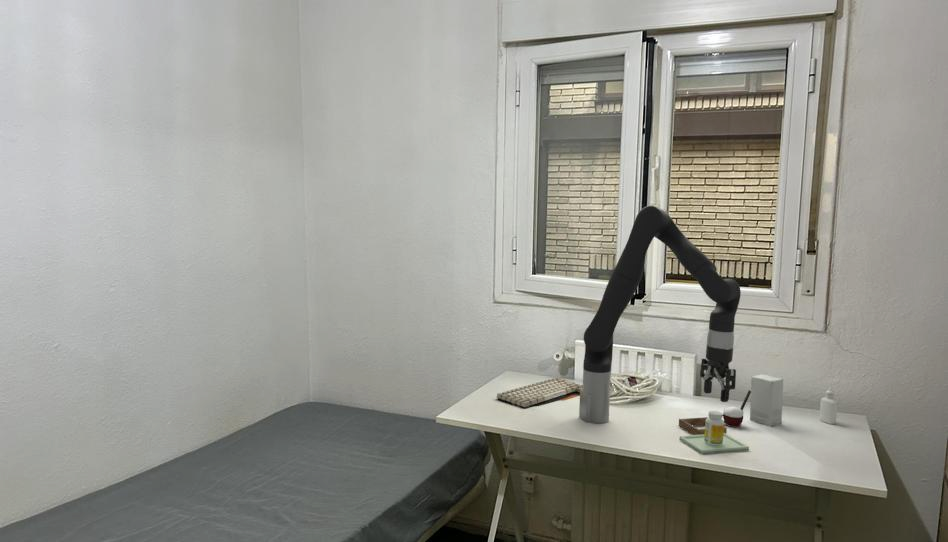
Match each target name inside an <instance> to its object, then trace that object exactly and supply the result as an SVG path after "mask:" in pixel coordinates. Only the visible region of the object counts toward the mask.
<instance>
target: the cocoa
mask: <svg viewBox="0 0 948 542" xmlns="http://www.w3.org/2000/svg"><path fill="white" fill-rule="evenodd" d="M750 396H751V389H750V390H748V391H747V393H746V395H745V396H744V397H745V398H744V399H743V402H742V404H741V406H740V408H739V407H737V406H729V407H728V406H727V407H726V408H723V412H722V414H723V415H722V419H723V421H724V424H725V425H727V426H728V425H729V426H728V427H732V426H737V427H739V426H741V425H742V422H743V420H744V414H745V413H744V408H745V406H746V404H747V402H748V399H749V398H750Z"/></svg>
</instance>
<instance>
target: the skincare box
mask: <svg viewBox="0 0 948 542" xmlns="http://www.w3.org/2000/svg"><path fill="white" fill-rule="evenodd" d="M750 391H751V393H750V403H749V404H750V405H749V408H750V411H749V420H750V421H752V420H753V422H755V423H758V424H759V423H760V424H762V425H766V426H769V427H772V426H777V425H780V424H782V422H783V421H782V420H783V418H782V417H783V393H784V379H783V378H781V377H775V376H772V375H767V374H763V373H762V374H757V375H753V376H751V379H750Z"/></svg>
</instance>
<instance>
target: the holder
mask: <svg viewBox="0 0 948 542" xmlns="http://www.w3.org/2000/svg"><path fill="white" fill-rule="evenodd" d="M708 417H709V416H706V417H705V416H704V417H703V416H701V417H692V418H691V417H690V418H678V427H679V426H680V427H679V428H681V429H682V428H683V429H682V430H684V429H685V430H686V431H685V430H684V431H685V432H687V431H688V432H687V433H689V434H690V433H691V435H692V434H693V435H701V434H705V427H704V428H697V426H692V425H703V426H705V422H706V419H707V418H708ZM727 430H728V428H727V427H726V426H724V432H723V433H726V434H727Z"/></svg>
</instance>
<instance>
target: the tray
mask: <svg viewBox="0 0 948 542" xmlns="http://www.w3.org/2000/svg"><path fill="white" fill-rule="evenodd" d="M678 440H679V441H680V440H681V441H680V442H682V443H683V444H685V443H686V444H685V445H687V446H688V447H690V448H692V449H693V450H694V451H696V452H698V453H699V454H701V455H711V454H721V453H722V454H723V453H724V454H725V453H732V452H733V453H734V452H745V451H746V452H747V451H749V450H750V446H749V445H747V444H745V443H744V442H741V441H740V440H738V439H736V438H734V437H733V436H731V435H729V434H727V432H726V433H723V444H722V445H720V446H713V445H709V444H706V443H705V442H704V434H701V435H692V434H691V435H690V434H689V435H687V434H686V435H680V436H679V437H678Z"/></svg>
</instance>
